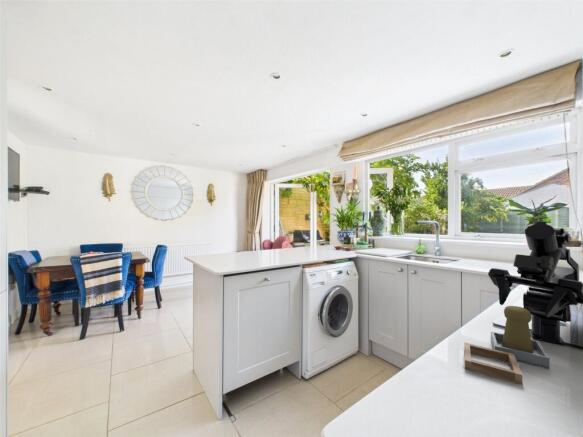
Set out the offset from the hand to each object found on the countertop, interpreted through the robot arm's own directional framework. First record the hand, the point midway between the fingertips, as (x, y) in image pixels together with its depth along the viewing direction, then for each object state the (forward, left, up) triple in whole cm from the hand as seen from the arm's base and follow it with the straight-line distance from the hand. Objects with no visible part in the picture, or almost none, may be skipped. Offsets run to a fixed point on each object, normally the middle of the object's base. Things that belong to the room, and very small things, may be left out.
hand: (522, 309), depth 64 cm
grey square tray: (+2, -1, -10) cm, 11 cm away
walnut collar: (+13, -8, -10) cm, 18 cm away
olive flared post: (+2, -1, -10) cm, 10 cm away
